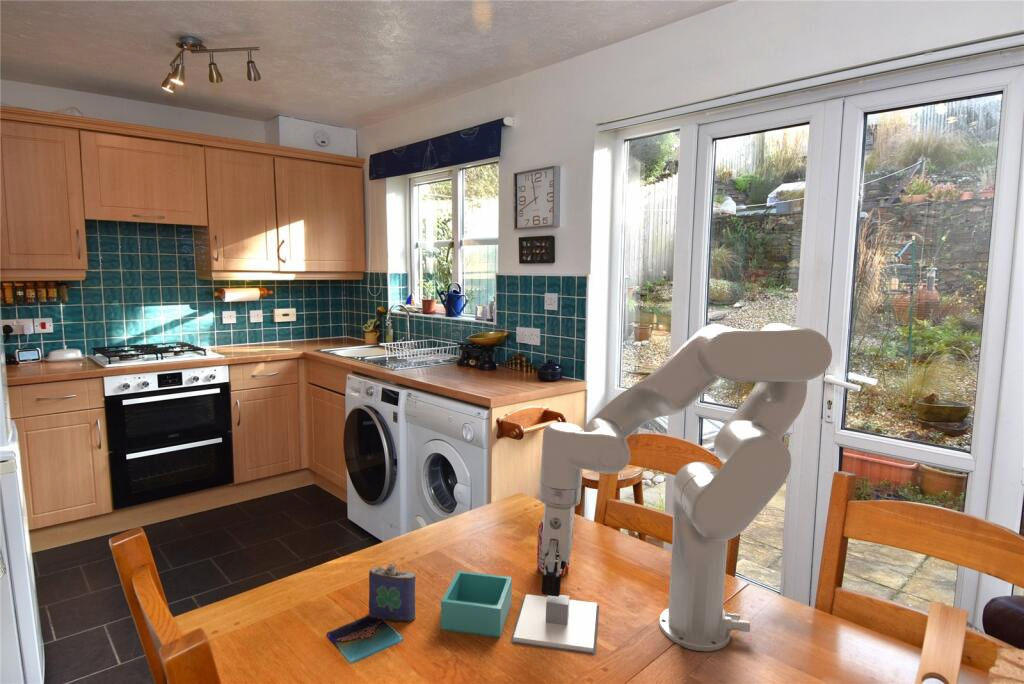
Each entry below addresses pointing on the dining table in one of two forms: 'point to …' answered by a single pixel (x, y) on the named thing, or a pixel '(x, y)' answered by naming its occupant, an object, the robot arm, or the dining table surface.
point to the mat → (557, 647)
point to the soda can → (539, 553)
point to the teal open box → (476, 604)
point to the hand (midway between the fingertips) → (553, 580)
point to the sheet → (557, 632)
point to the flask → (392, 594)
